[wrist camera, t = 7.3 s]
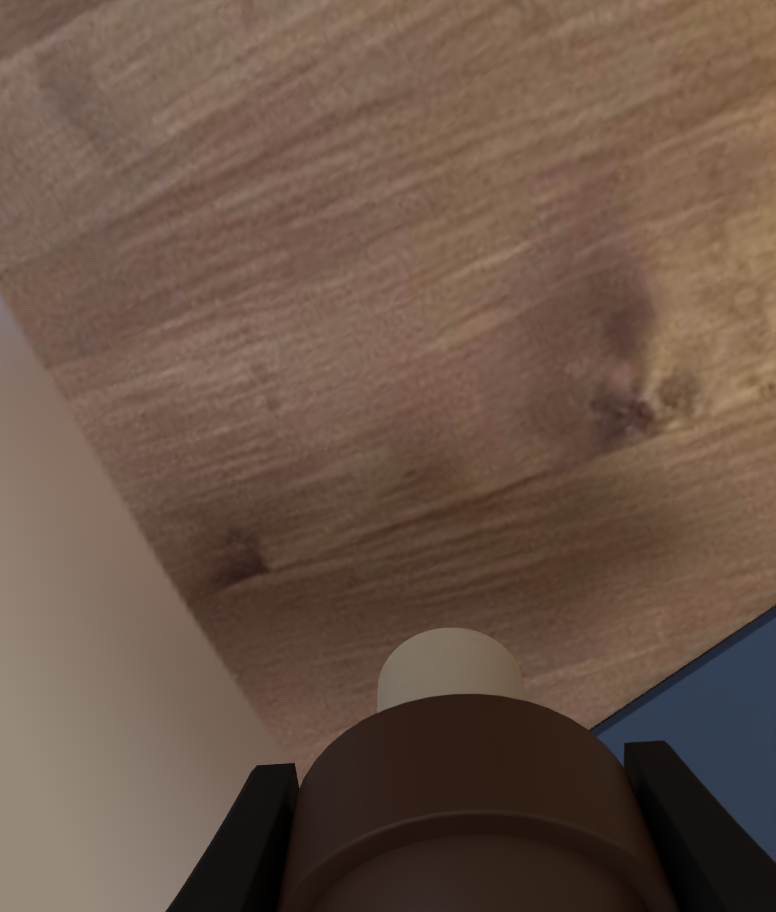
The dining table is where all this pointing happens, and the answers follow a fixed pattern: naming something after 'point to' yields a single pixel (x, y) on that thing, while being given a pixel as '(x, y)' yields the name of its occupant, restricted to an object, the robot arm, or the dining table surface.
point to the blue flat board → (718, 725)
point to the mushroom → (468, 801)
